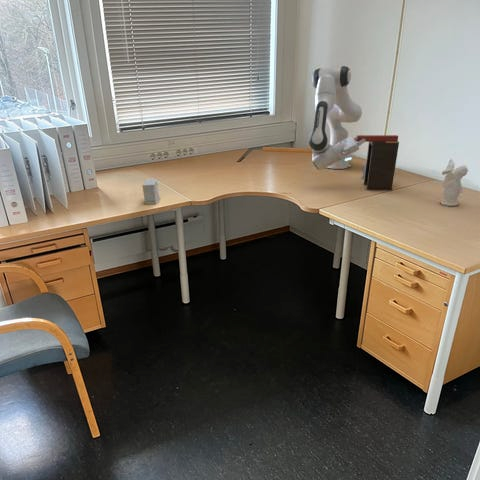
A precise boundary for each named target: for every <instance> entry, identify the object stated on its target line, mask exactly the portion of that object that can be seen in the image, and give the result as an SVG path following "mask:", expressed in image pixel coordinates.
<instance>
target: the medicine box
mask: <svg viewBox="0 0 480 480" xmlns="http://www.w3.org/2000/svg"><path fill="white" fill-rule="evenodd" d="M365 170H366V163H364V164H363V167H362V176H361V179H363V180H364V178H365Z"/></svg>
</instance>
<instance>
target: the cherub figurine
mask: <svg viewBox="0 0 480 480" xmlns="http://www.w3.org/2000/svg"><path fill="white" fill-rule="evenodd" d="M455 166H456V165H455V162H454V160H453V159H452V158H450V159H449V161H448V164H447V166H446V167H445V169H444V170H443V171H441V174H442V175H443V176H444V179H443V181H442V185H441V186H442V188H444V189H443V193H442V196H443V197H442V199H441V201H440V204H441V205H442V206H445V207H446V206H447V207H456V206H458V205H459V202H458V200H459V199H458V198H459V197H460V194H462V193H463V192H464V191H463V185H462V181H461V180H462V179H463V177H466V175H467V174H468V172H469V169H468V167H467V166H466V165H465V164H463V165H459V166H457V167H456V168H455Z"/></svg>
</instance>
